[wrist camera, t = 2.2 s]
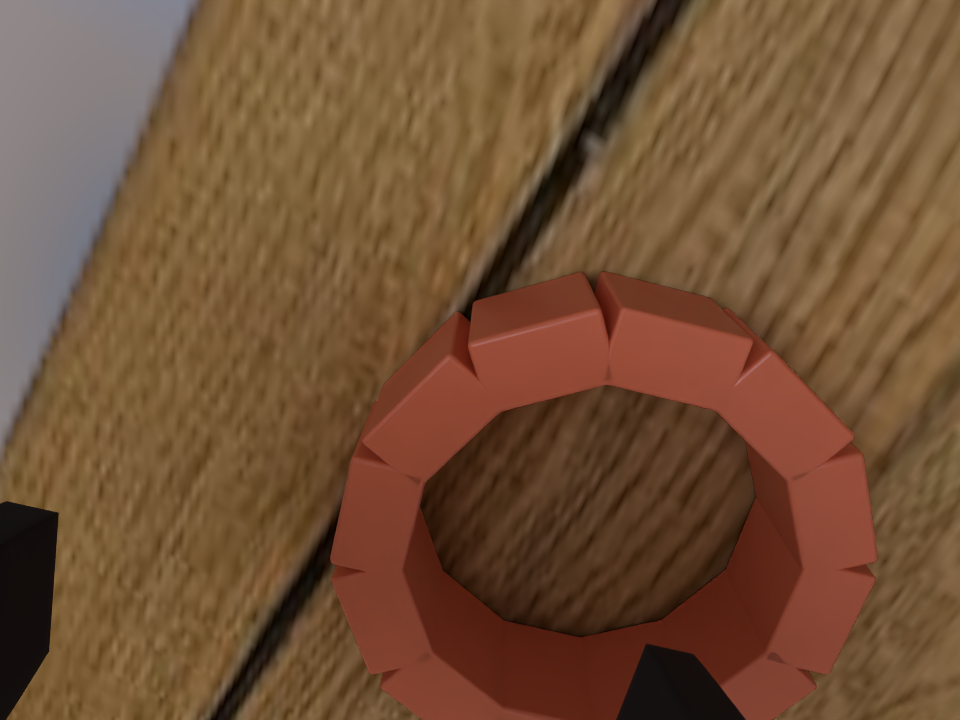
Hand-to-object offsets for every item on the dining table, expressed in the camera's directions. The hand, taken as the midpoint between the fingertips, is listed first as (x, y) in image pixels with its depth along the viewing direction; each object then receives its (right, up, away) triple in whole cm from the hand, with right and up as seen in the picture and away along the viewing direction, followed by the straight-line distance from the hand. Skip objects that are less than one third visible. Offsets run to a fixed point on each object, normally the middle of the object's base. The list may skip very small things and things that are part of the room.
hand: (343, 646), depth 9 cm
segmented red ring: (+4, +1, +5) cm, 6 cm away
